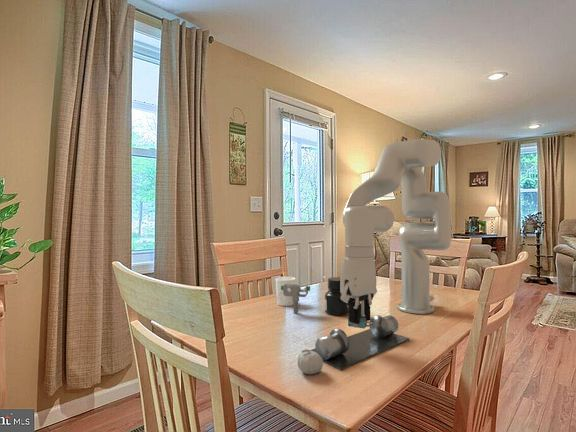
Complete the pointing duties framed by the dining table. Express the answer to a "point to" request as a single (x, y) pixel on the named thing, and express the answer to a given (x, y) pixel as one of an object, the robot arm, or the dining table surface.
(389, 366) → the dining table surface
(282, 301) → the white cup
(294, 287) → the mechanical component
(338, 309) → the ink bottle
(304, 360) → the garlic
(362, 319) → the push button
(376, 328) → the plate with silver knobs
